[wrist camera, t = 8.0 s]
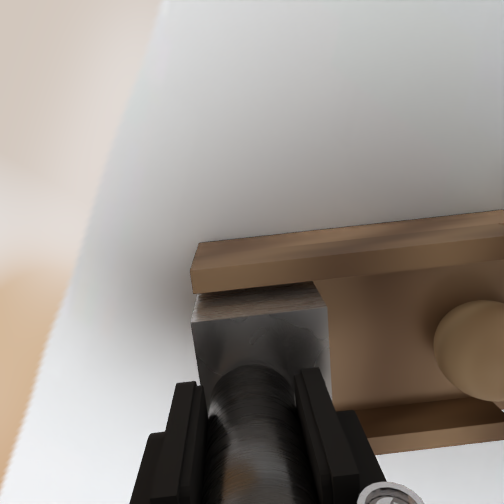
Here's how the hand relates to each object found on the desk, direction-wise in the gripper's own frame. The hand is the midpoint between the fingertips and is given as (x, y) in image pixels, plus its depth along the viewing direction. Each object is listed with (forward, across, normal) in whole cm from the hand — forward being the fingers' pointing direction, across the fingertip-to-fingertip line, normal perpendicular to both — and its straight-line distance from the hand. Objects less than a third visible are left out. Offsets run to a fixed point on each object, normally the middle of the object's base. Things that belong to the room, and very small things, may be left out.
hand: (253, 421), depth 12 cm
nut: (+4, -8, 0) cm, 9 cm away
